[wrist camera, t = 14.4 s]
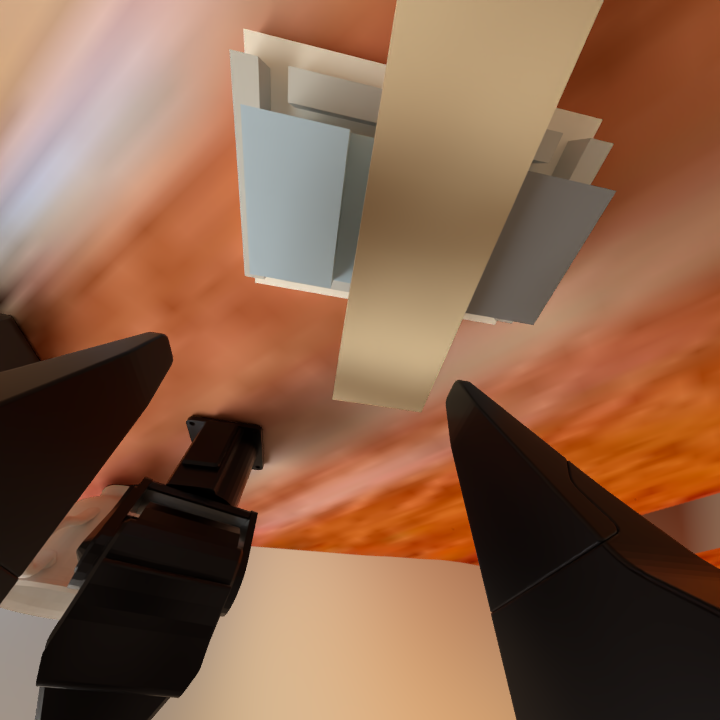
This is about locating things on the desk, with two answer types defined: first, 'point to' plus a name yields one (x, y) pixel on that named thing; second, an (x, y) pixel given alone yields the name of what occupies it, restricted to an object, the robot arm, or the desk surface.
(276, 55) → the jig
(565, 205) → the light blue block
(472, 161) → the tan rectangular bar
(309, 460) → the desk surface
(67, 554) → the teacup
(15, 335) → the phone stand
